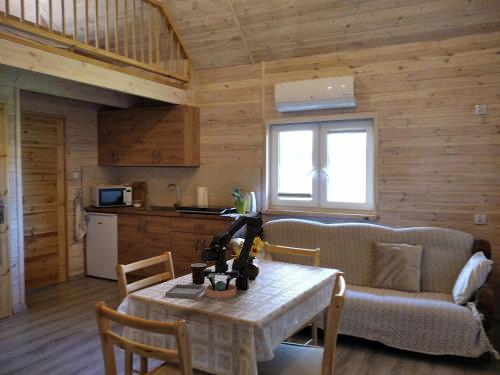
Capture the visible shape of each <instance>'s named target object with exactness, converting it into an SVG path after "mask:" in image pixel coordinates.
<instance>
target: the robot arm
mask: <svg viewBox="0 0 500 375" xmlns="http://www.w3.org/2000/svg"><path fill="white" fill-rule="evenodd" d="M244 226H245V227H246V234H245V237H244V240H243V242H242V246H241V249H240V252H239V255H238V257H237V258H234V259H233V260H232V264H231V270H230V271H229V264H228V262H227V251H230V249H231V248H229V247H228V245H229V243H231V240H232V238H233V236H235V234H237V233H238V232H239V230H241V229H242V228H243V227H244ZM262 226H264V222H263V219H262V217H259V216H248V215H240V216H238V218H237V219H235V221H234V222H233V223H231V225H229V226H228V227H227V228H226V229H224V230H222V231H220V232H218V233H217V234H214V236H213V237H212V240H211V242H210V244H209V246H208V248H207V247H205V248H203V250H202V252H201V255H200V258H201V261H202V262H203V264H207V263H211V262H214V270H212V268H210V269H209V268H206V269H204V270H203V271H202V273H201V276H202V277H205V278H206V279H208V281H209V282H210V284H212V287H213V289H214V290H215V284H216V281H215V280H216V279H215V278H216V276H226V279H225V283H226V291H227V290H228V287H229V284H231V281H232V280H233V279H234V285H235V286H236V287H237V291H238V290H239V291H248V290H249V289H250V282H249V281H250V280H249V279H251V278H252V274H253V273H252V272H251V270H249V266H250V264H249V256H250V253H251V251H252V248H253V244H254V242H255V238H256V235H257V234H258V233H259V232H260V231H261V229H262Z"/></svg>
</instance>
